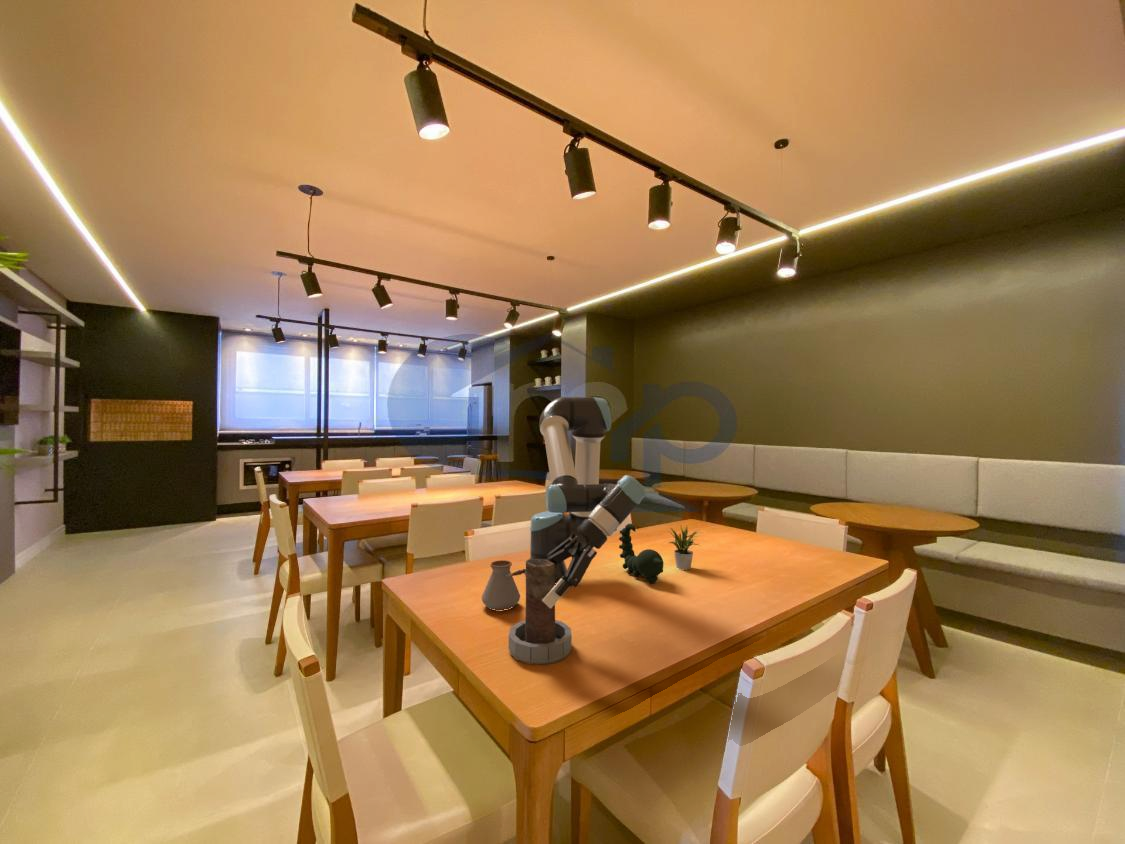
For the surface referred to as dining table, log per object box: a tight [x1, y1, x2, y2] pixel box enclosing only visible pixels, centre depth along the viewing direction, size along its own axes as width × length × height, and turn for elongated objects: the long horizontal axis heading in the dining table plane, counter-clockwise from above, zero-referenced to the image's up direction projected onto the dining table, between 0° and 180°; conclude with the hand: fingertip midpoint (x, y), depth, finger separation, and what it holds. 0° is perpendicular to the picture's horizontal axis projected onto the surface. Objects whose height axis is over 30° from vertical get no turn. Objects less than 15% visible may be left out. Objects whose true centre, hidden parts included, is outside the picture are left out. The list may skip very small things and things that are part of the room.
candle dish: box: [508, 619, 573, 665], centre depth 108 cm, size 15×15×4 cm
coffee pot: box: [481, 559, 526, 610], centre depth 130 cm, size 21×12×15 cm, turn 37°
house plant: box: [668, 525, 703, 571], centre depth 170 cm, size 14×14×16 cm
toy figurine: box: [618, 523, 664, 584], centre depth 160 cm, size 9×19×25 cm
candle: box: [524, 558, 556, 644], centre depth 109 cm, size 8×7×20 cm
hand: (539, 593), depth 108 cm, fingers open, 13 cm apart
